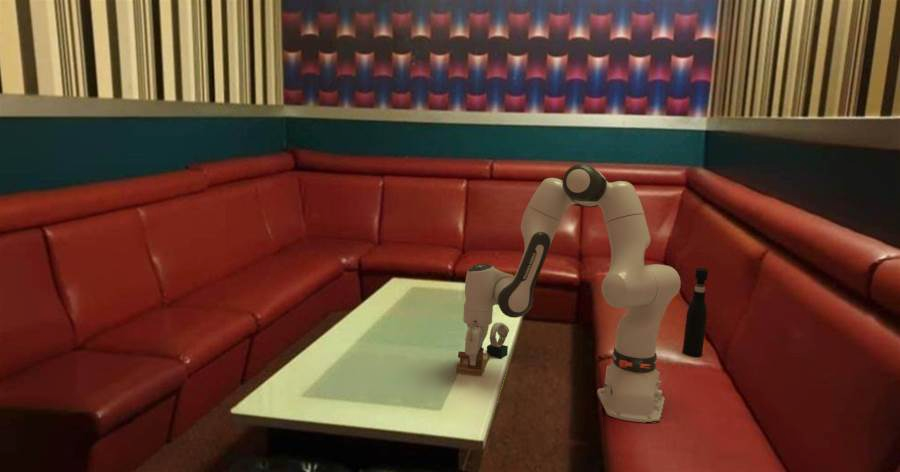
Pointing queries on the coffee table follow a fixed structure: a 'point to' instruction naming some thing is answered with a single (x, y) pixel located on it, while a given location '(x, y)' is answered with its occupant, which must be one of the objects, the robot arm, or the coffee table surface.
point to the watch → (496, 347)
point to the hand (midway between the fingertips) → (475, 358)
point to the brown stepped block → (478, 361)
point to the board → (463, 368)
